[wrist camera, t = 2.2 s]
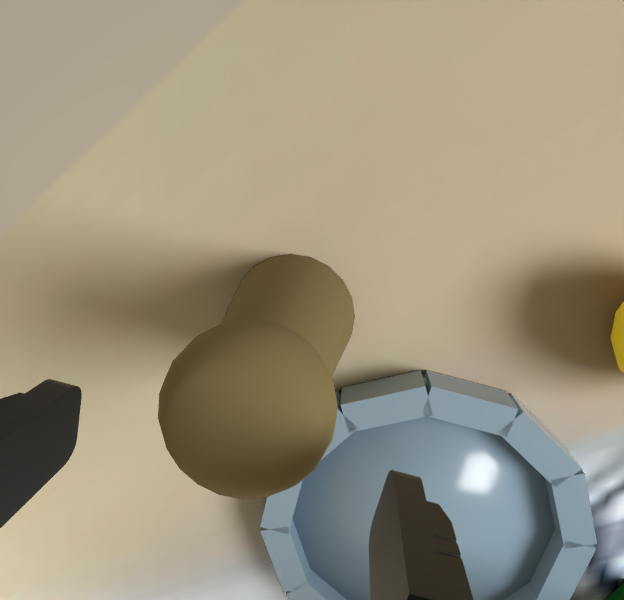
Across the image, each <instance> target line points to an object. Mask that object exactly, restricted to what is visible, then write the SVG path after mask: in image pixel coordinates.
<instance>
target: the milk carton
mask: <svg viewBox="0 0 624 600" xmlns="http://www.w3.org/2000/svg"><path fill="white" fill-rule="evenodd" d="M605 600H624V583H623V584H621V585H620V586H619V587H618V588H617V589H616V590H615V591H614V592H613V593H612V594H611V595H610V596H609V597H608V598H606V599H605Z"/></svg>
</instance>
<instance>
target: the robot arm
mask: <svg viewBox="0 0 624 600" xmlns="http://www.w3.org/2000/svg"><path fill="white" fill-rule="evenodd" d="M80 405H81V389H80V388H79V387H78V386H74V385H70V384H66V383H62V382H59V381H55V380H51V379H48V380H45V381H44V382H42V383H40V384H39V385H37V386H36V387H34V388H33V389H31V390H30V391H28V392H27V393H25V394H23V393H17V394H14V395H11V396H8V397H5V398H2V399H0V528H1V527H2V526H3V525H4V524H5V523H6V522H7V521H8V520H9V519H10V518H11V517H12V516H13V515H14V514H15V513H16V512H17V511H18V510H19V509H20V508H21V507H22V506H24V505H25V504H26V503H27V502H28V501H29V500H30V499H31V498H32V497H33V496H34V495H35V494H36V493H37V492H38V491H39V490H40V489H41V488H42V487H43V486H44V485H45V484H46V483H47V482H48V481H49V480H50V479H51V478H52V477H53V476H54V475H55V474H56V473H57V472H58V471H59V470H60V469H61V468H62V467H63V466H64V465H65V464H66V463H67V461H68V460H69V458H70V456H71V455H72V453H73V450H74V448H75V445H76V441H77V432H78V423H79V414H80ZM456 541H457V539H456V536H455V532H454V529H453V525H452V522H451V520H450V519H449V518H448V516H447V515H446V513H445V512H444V511H443V509H442V508H441V506H440V505H439V504H437V503H433V502H429V501H426V496H425V492H424V487H423V483H422V479H421V478H420V477H417V476H414V475H410V474H406V473H402V472H398V471H395V470H390V471H389V473H388V475H387V478H386V481H385V484H384V487H383V490H382V493H381V496H380V499H379V502H378V505H377V508H376V511H375V514H374V517H373V521H372V525H371V529H370V536H369V572H370V599H371V600H473V596H472V593H471V589H470V585H469V582H468V578H467V575H466V571H465V568H464V564H463V561H462V559H461V553H460V550H459V546H458V544H457V543H456Z"/></svg>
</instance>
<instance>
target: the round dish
mask: <svg viewBox="0 0 624 600" xmlns="http://www.w3.org/2000/svg"><path fill="white" fill-rule="evenodd" d="M335 393H336V399H337V417H336V423H335V429H334V434H333V440H332V441H331V443H330V445H329V446H328V448H327V450H326V452H325V453H324V455H323V457H322V458H321V460H320V462H319V463H318V465H317V467H316V469H315V470H314V471H313V472H311V473H310V474H309V475H308V476H307V477H305V478H304V479H303V480H302V481H301V482H299V483H298V484H297V485H296V486H293V487H291V488H289V489H287V490H284V491H282V492H279V493H276V494H274V495H271V496H269V497H267V500H266V504H265V508H264V512H263V516H262V520H261V524H260V527H261V530H260V532H261V535H262V537H263V540H264V543H265V545H266V548H267V551H268V553H269V556H270V559H271V561H272V564H273V567H274V569H275V572H276V575H277V577H278V580H279V583H280V585H281V588H282V591H283V592H286V591H287V592H286V596H287V597H288V598H289V599H290V600H371V599H370V572H369V536H370V529H371V525H372V521H373V517H374V514H375V511H376V508H377V505H378V502H379V499H380V496H381V493H382V490H383V487H384V484H385V481H386V478H387V475H388V473H389V471H390V470H395V471H398V472H402V473H406V474H410V475H414V476H417V477H420V478H421V479H422V483H423V487H424V492H425V496H426V501H429V502H433V503H437V504H439V505H440V506H441V508H442V509H443V511H444V512H445V513H446V515H447V516H448V518H449V519H450V520H451V522H452V525H453V529H454V532H455V536H456V539H457V541H456V543H457V544H458V546H459V550H460V553H461V559H462V561H463V564H464V568H465V571H466V575H467V578H468V582H469V585H470V589H471V593H472V596H473V600H570V599H571V597H572V595H573V593H574V591H575V589H576V587H577V585H578V583H579V581H580V579H581V577H582V575H583V573H584V572H585V570H586V568H587V566H588V564H589V562H590V560H591V558H592V556H593V554H594V552H595V550H596V548H595V546H594V544H597V541H596V535H595V530H594V524H593V518H592V513H591V507H590V501H589V496H588V490H587V484H586V479H585V473H584V472H583V471H582V468H581V467H580V466H579V464H578V463H577V462H576V460H575V459H574V458H573V456H572V455H571V454H570V452H569V451H568V450H567V448H566V447H565V446H564V445H563V444H562V443H561V442H560V441H559V440H558V439H557V438H556V437H555V436H554V435H553V434H552V433H551V432H550V431H549V430H548V429H547V428H546V427H545V426H544V425H543V424H542V423H541V422H540V421H539V420H538V419H536V418H535V417H534V416H533V415H532V414H531V413H530V412H529V411H528V410H527V409H526V408H525V407H524V406H523V405H522V404H521V403H520V402H519V401H518V400H517V399H516V398H515V397H514V396H513V395H512V394H510V395H509V394H508V393H507V391H504V390H501V389H497V388H493V387H489V386H485V385H481V384H478V383H474V382H470V381H466V380H462V379H458V378H455V377H451V376H447V375H443V374H439V373H435V372H432V371H428V370H426V372H425V375H422V373H421V370H418V371H414V372H409V373H405V374H401V375H396V376H392V377H387V378H383V379H378V380H374V381H370V382H365V383H361V384H356V385H352V386H347V387H343V388H342V392H341V393H340V392H339V391H336V392H335Z"/></svg>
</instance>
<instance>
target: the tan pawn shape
mask: <svg viewBox="0 0 624 600" xmlns="http://www.w3.org/2000/svg"><path fill="white" fill-rule="evenodd" d="M354 318H355V314H354V308H353V301H352V297H351V295H350V293H349V291H348V289H347V287H346V285H345V283H344V281H343V280H342V279H341V278H340V277H339V276H338V275H337V274H336V273H335V272H334V271H333V270H332V269H331V268H330V267H329V266H327V265H325V264H323V263H321V262H319V261H317V260H315V259H313V258H311V257H306V256H300V255H293V254H289V255H283V256H276V257H271V258H269V259H267V260H265V261H263V262H262V263H260V264H258V265H256V266H254V267H253V268H252V269H251V270H250V272H249V273H248V274H247V275H246V276H245V277H244V278H243V279H242V280H241V282H240V285H239V287H238V289H237V291H236V293H235V295H234V297H233V300H232V302H231V304H230V306H229V308H228V310H227V312H226V314H225V317H224V319H223V321H222V323H221V325H219V326H217V327H214V328H212V329H210V330H208V331H206V332H204V333H202V334H200V335H198V336H197V337H196V338H195V339H194V340H193V341H192V342H191V343H190V344H189V345H188V346H187V347H186V348H185V349H184V350H183V351H182V352H181V353H180V354H179V355H178V356H177V357H176V358H175V359H174V360H173V362H172V364H171V366H170V369H169V371H168V373H167V376H166V378H165V380H164V383H163V385H162V388H161V391H160V394H159V411H158V419H159V423H160V426H161V430H162V434H163V437H164V441H165V444H166V448H167V450H168V451H169V453H170V455H171V456H172V458H173V459H174V461H175V462H176V464H177V465H178V467H179V468H180V469H181V470H182V471H183V472H184V473H185V474H187V475H188V476H189V477H190V478H191V479H192V480H193V481H195V482H196V483H197V484H198V485H200V486H202V487H204V488H207V489H209V490H211V491H213V492H215V493H217V494H219V495H223V496H229V497H234V498H239V499H253V498H265V497H269V496H271V495H274V494H276V493H279V492H282V491H284V490H287V489H289V488H291V487H293V486H296V485H297V484H298V483H299V482H301V481H302V480H303V479H304V478H305V477H307V476H308V475H309V474H310V473H311V472H313V471H314V470H315V469H316V467H317V465H318V463H319V462H320V460H321V458H322V457H323V455H324V453H325V452H326V450H327V448H328V446H329V445H330V443H331V441H332V440H333V434H334V429H335V423H336V417H337V399H336V393H335V388H334V382H333V379H332V375H333V373H334V371H335V369H336V366H337V364H338V362H339V360H340V358H341V356H342V354H343V352H344V350H345V347H346V345H347V343H348V341H349V339H350V337H351V335H352V329H353V324H354Z"/></svg>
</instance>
